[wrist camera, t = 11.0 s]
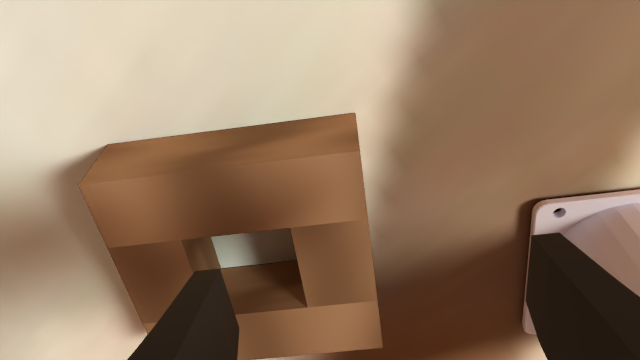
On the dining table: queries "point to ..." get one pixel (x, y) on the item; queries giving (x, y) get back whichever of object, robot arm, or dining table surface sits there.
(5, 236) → the dining table surface
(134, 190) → the brown square frame
